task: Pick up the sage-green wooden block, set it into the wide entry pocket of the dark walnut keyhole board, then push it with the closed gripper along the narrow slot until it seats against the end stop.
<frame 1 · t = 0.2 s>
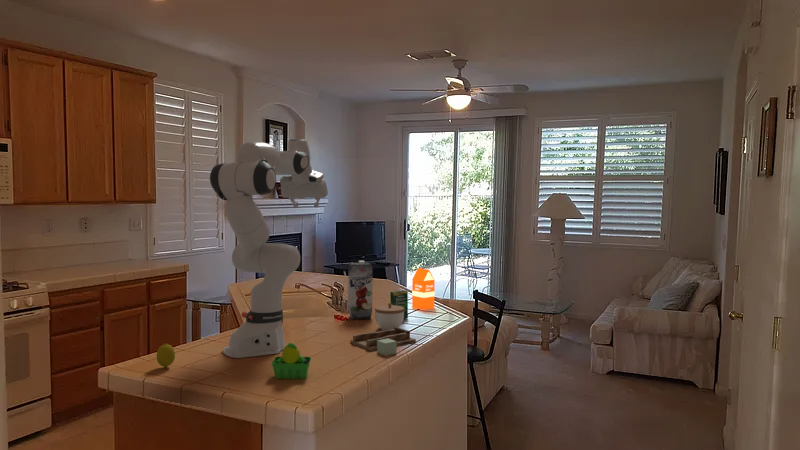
hand: (306, 207, 235), 52 cm above the counter, tool tilted 20°, fingers open, 8 cm apart
lidded bowl: (389, 329, 233), on the counter
lemon: (165, 368, 177), on the counter
coffee box: (399, 319, 252), on the counter
fruit basket: (291, 377, 169), on the counter
orange juice: (423, 307, 281), on the counter
block: (386, 353, 196), on the counter
juice carton: (360, 318, 255), on the counter
board: (383, 342, 210), on the counter
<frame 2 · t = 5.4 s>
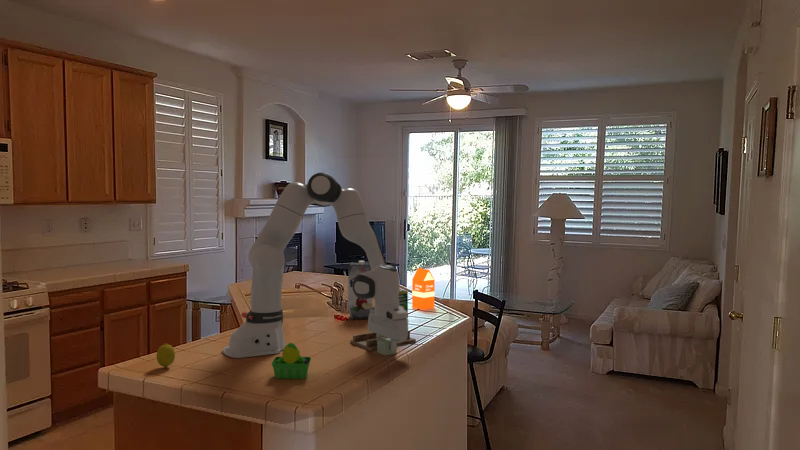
hand: (386, 348, 196), 2 cm above the counter, tool pointing down, fingers closed on block, 5 cm apart
block: (386, 352, 196), on the counter, touching gripper
everything else where it was.
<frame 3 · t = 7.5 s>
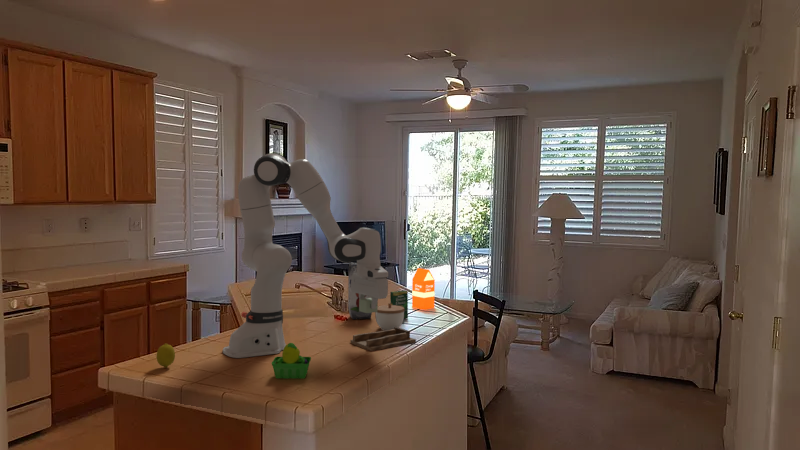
hand: (368, 307, 205), 15 cm above the counter, tool pointing down, fingers closed on block, 5 cm apart
block: (368, 311, 205), point 13 cm above the counter, touching gripper
everything else where it was.
when the fingers open (4 cm above the counter, at t = 9.7 s): block drops 1 cm, resting on board.
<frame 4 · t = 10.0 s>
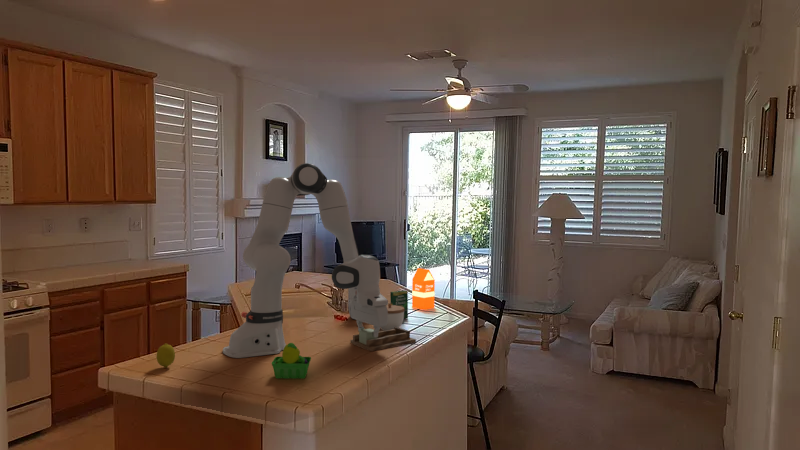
hand: (368, 334, 206), 4 cm above the counter, tool pointing down, fingers open, 8 cm apart
block: (368, 342, 206), point 1 cm above the counter, touching board
everything else where it was.
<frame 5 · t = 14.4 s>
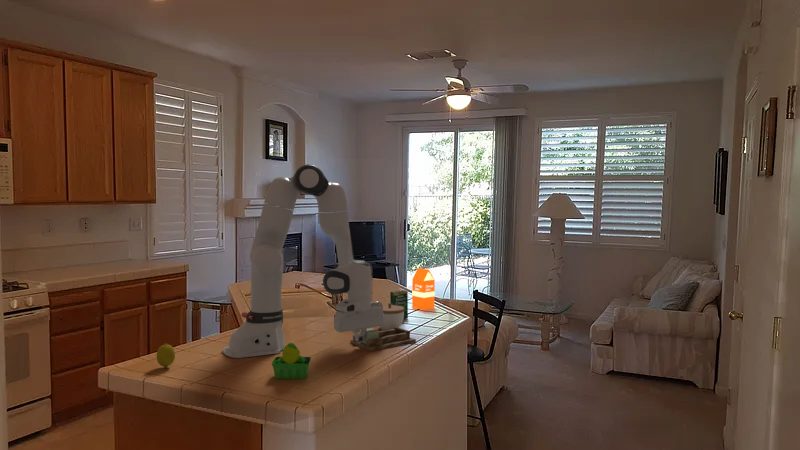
hand: (359, 340, 203), 3 cm above the counter, tool pointing down, fingers closed
block: (369, 342, 206), point 1 cm above the counter, touching board, gripper
everything else where it was.
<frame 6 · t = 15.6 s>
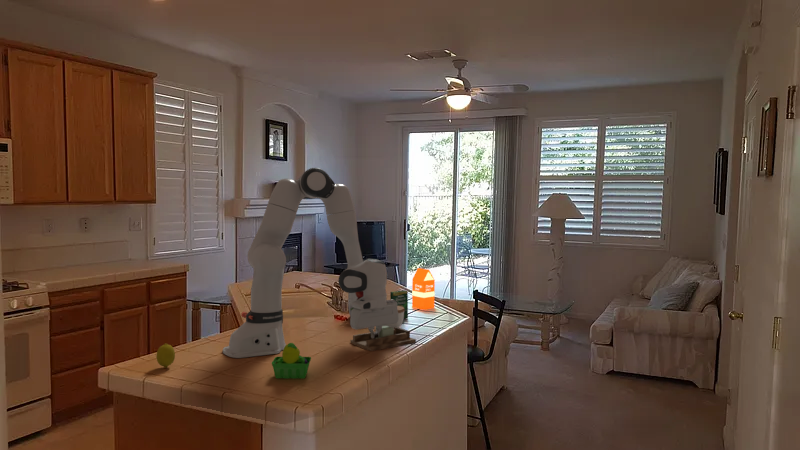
hand: (375, 337, 207), 3 cm above the counter, tool pointing down, fingers closed
block: (384, 339, 211), point 1 cm above the counter, touching gripper
everything else where it was.
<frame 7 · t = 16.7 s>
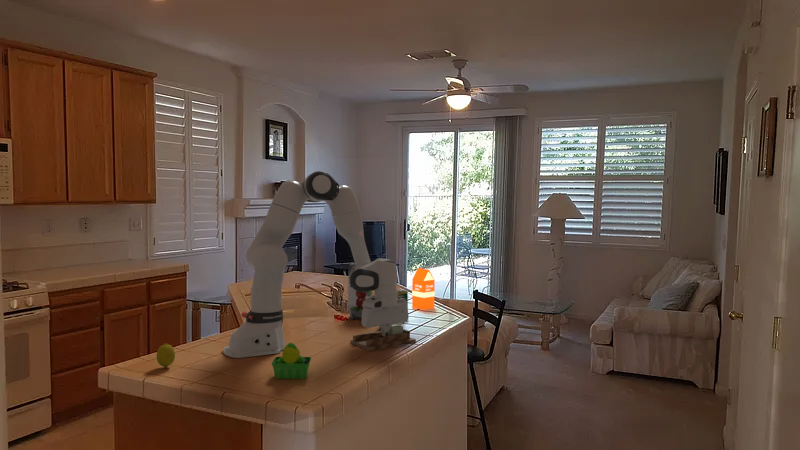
hand: (385, 335, 211), 3 cm above the counter, tool pointing down, fingers closed
block: (394, 337, 213), point 1 cm above the counter, touching board, gripper
everything else where it was.
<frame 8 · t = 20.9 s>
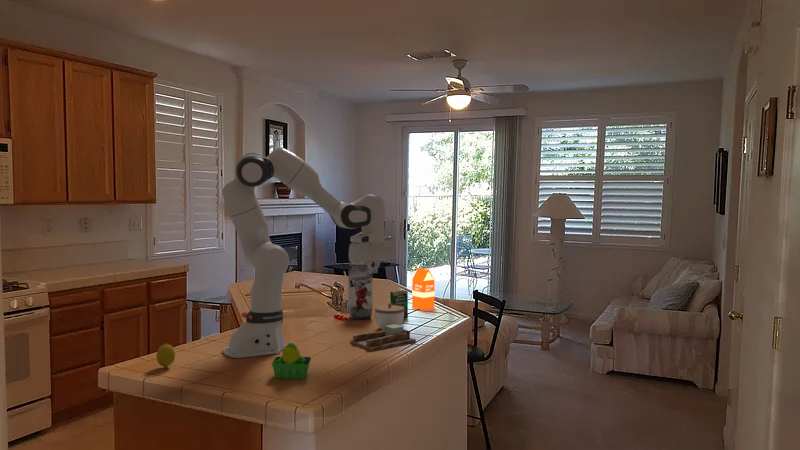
hand: (373, 273, 208), 27 cm above the counter, tool pointing down, fingers closed
block: (394, 337, 213), point 1 cm above the counter, touching board
everything else where it was.
at the end: block 0.2 cm from the target spot on the board, point 1.2 cm above the board's base; block tilted 0°; the gripper is holding nothing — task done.
